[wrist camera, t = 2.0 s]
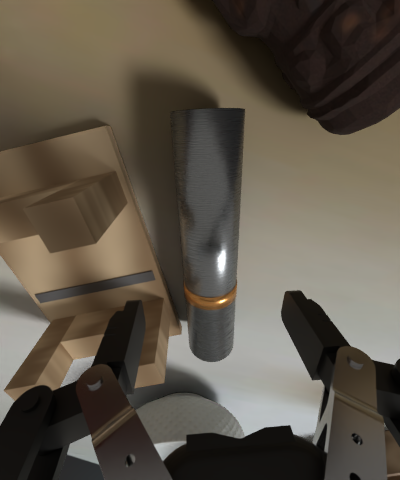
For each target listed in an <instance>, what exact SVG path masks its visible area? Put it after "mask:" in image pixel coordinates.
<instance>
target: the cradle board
mask: <svg viewBox="0 0 400 480" xmlns="http://www.w3.org/2000/svg"><path fill="white" fill-rule="evenodd" d="M0 255H1V257H2V258H3V259H4V261H5V262H6V263H7V265H8V266H9V267H10V269H11V270H12V271H13V273H14V274H15V275H16V277H17V278H18V280H19V281H20V282H21V284H22V285H23V286H24V288H25V289H26V290H27V292H28V293H29V294H30V296H31V297H32V298H33V300H34V301H35V303H36V304H37V305H38V307H39V308H40V309H41V311H42V312H43V313H44V315H45V316H46V317H47V319H48V320H49V321H50V325H49V326H48V328H47V329H46V331H45V332H44V333H43V335H42V336H41V338H40V339H39V341H38V342H37V343H36V345H35V346H34V348H33V349H32V351H31V352H30V353H29V355H28V356H27V358H26V359H25V361H24V362H23V364H22V365H21V366H20V368H19V369H18V371H17V372H16V374H15V375H14V376H13V378H12V379H11V381H10V382H9V384H8V385H7V386H6V388H5V389H4V391H5V392H6V393H7V394H8V395H9V396H10V397H11V398H12V399H14V400H15V401H16V400H17V398H18V397H19V396H21V395H22V394H23V393H24V392H26V391H27V390H29V389H31V388H33V387H35V386H39V385H46V386H49V387H50V388H51V389H52V391H53V390H55V389H58V388H60V386H61V384H62V382H63V380H64V378H65V376H66V374H67V372H68V370H69V368H70V366H71V364H72V362H73V360H74V359H80V358H85V357H90V356H96V353H97V351H98V348H99V346H100V343H101V341H102V338H103V336H104V333H105V330H106V329H107V325H108V322H109V320H110V318H111V317H112V316H113V315H114V314H115V312H116V311H123V310H124V307H125V304H126V301H127V300H142V304H143V309H144V315H145V321H146V329H145V335H144V341H143V346H142V351H141V356H140V362H139V367H138V372H137V378H136V383H135V388H139V387H145V386H150V385H156V384H162V383H164V381H165V371H166V360H167V349H168V339H169V336H174V335H180V334H181V331H182V326H181V323H180V321H179V318H178V315H177V312H176V309H175V306H174V304H173V301H172V298H171V295H170V292H169V290H168V287H167V284H166V281H165V278H164V276H163V273H162V270H161V267H160V264H159V262H158V259H157V256H156V253H155V250H154V247H153V245H152V242H151V239H150V236H149V233H148V231H147V228H146V225H145V222H144V219H143V217H142V214H141V211H140V208H139V205H138V203H137V200H136V197H135V194H134V191H133V188H132V186H131V183H130V180H129V177H128V174H127V172H126V169H125V166H124V163H123V160H122V158H121V155H120V152H119V149H118V146H117V144H116V141H115V138H114V135H113V132H112V129H111V127H110V126H102V127H98V128H94V129H90V130H85V131H81V132H77V133H73V134H69V135H65V136H61V137H57V138H53V139H49V140H45V141H40V142H36V143H32V144H28V145H24V146H20V147H16V148H12V149H8V150H4V151H0Z"/></svg>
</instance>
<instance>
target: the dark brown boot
mask: <svg viewBox="0 0 400 480" xmlns="http://www.w3.org/2000/svg"><path fill="white" fill-rule="evenodd" d="M212 1H213V2H214V4H215V5H216V7H217V8H218V10H219V11H220V13H221V14H222V16H223V17H224V19H225V20H226V22H227V23H228V25H229V26H230V28H231V29H233V30H234V31H235V32H236V33H238V34H239V35H241V36H251V37H257V38H260V39H261V40H262V41H263V42H264V43H265V44H266V45H267V46H268V47H269V48H270V50H271V51H272V53H273V55H274V57H275V62H276V64H277V66H278V67H279V68H280V69H281V70H282V71H283V73H282V74H283V79H284V80H285V81H286V82H287V84H288V85H289V86H290V88H291V89H295V90H296V92H297V93H298V95H299V96H300V103H301V105H302V106H303V108H306V109H308V112H307V114H308V116H309V117H310V118H313V119H316V120H317V121H318V122H319V123H320V125H321V126H322V127H323V128H324V129H325V130H327V131H328V132H330V133H333V134H339V135H346V134H351V133H354V132H356V131H359V130H361V129H364V128H366V127H369V126H371V125H374V124H376V123H378V122H380V121H381V120H383V119H385V118H386V117H388V116H390V115H391V114H392V113H394V112H395V111H396V110H398V109H399V108H400V0H212Z"/></svg>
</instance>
